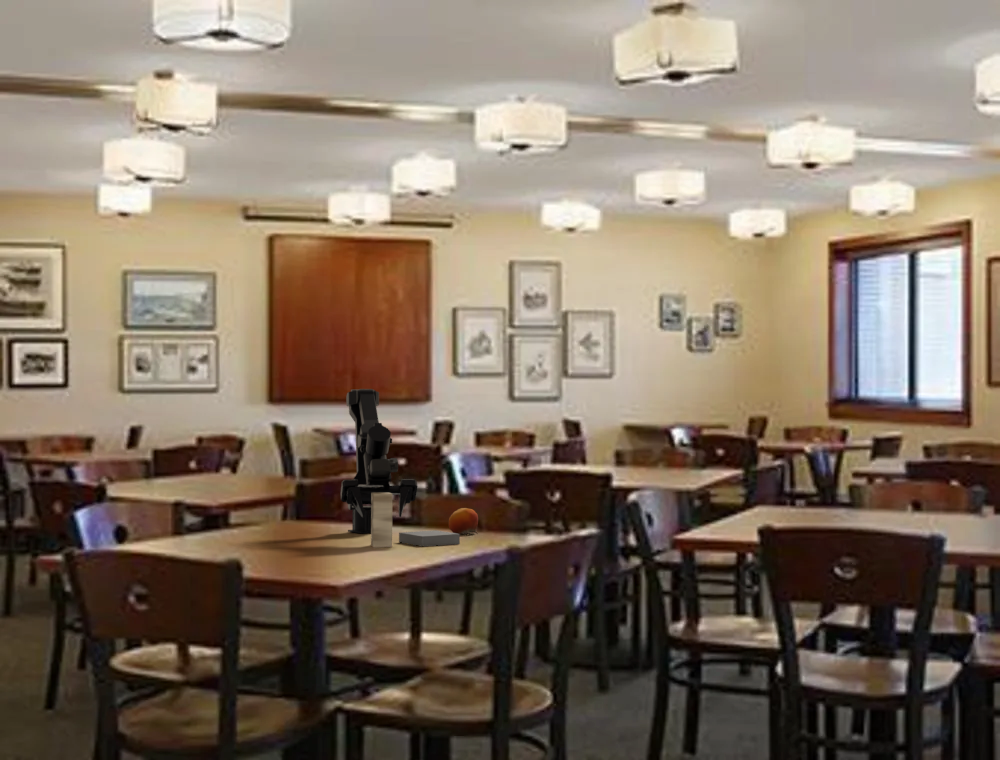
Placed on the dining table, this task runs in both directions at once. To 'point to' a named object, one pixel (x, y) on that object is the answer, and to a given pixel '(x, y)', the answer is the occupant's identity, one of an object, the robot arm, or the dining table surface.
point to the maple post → (381, 519)
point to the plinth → (429, 538)
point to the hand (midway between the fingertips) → (382, 516)
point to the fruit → (463, 521)
